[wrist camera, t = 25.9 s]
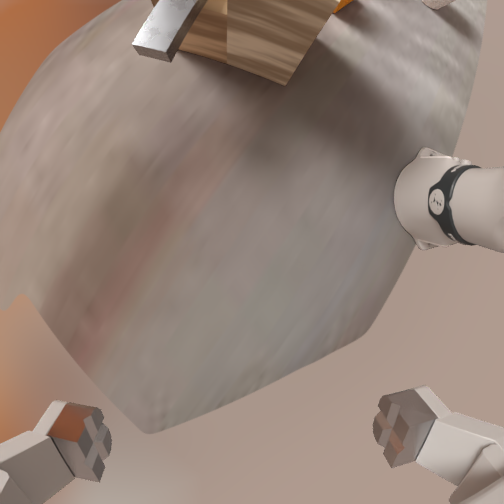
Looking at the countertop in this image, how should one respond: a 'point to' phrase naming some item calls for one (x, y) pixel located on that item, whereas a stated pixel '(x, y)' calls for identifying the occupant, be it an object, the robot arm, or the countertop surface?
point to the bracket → (342, 4)
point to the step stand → (258, 33)
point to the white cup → (436, 3)
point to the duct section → (167, 28)
